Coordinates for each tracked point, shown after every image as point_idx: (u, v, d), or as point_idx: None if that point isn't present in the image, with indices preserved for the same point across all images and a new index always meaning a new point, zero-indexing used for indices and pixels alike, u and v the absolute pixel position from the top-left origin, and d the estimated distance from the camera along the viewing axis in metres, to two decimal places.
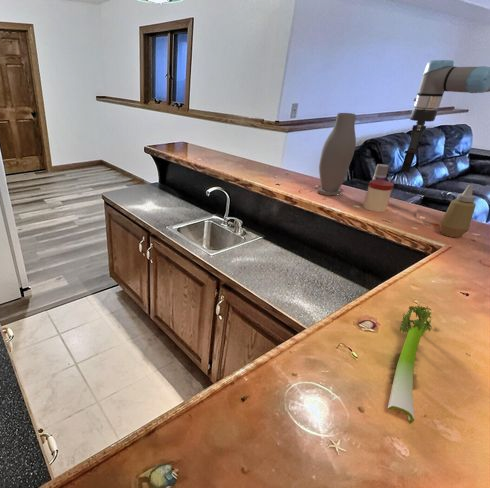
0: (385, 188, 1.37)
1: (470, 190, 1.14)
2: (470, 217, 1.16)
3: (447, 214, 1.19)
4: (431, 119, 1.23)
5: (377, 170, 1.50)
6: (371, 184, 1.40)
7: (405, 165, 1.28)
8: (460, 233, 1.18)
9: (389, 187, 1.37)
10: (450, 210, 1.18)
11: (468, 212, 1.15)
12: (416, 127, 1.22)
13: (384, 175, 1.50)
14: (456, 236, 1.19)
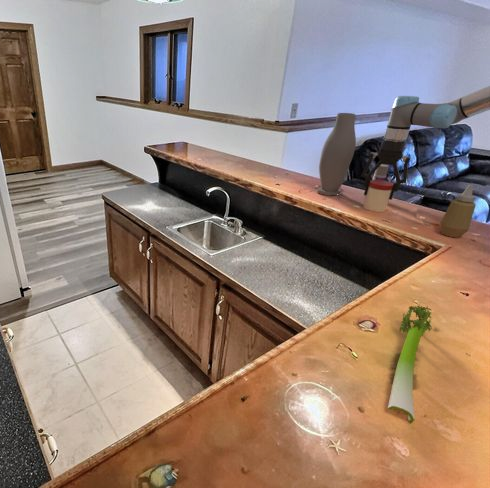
0: (385, 188, 1.37)
1: (470, 190, 1.14)
2: (470, 217, 1.16)
3: (447, 214, 1.19)
4: (384, 148, 1.34)
5: (377, 170, 1.50)
6: (371, 184, 1.40)
7: None
8: (460, 233, 1.18)
9: (389, 187, 1.37)
10: (450, 210, 1.18)
11: (468, 212, 1.15)
12: None
13: (384, 175, 1.50)
14: (456, 236, 1.19)
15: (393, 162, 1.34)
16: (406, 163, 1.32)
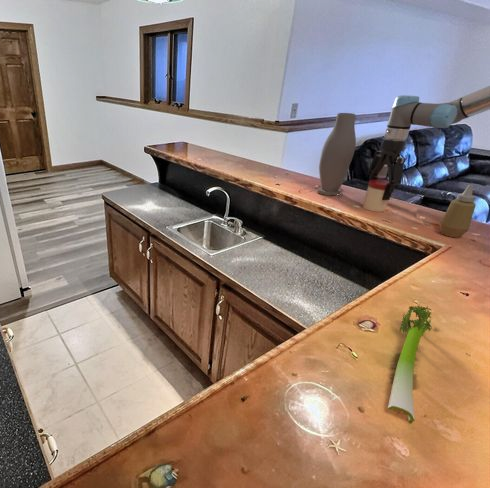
0: None
1: (470, 190, 1.14)
2: (470, 217, 1.16)
3: (447, 214, 1.19)
4: (403, 148, 1.33)
5: None
6: None
7: (387, 194, 1.38)
8: (460, 233, 1.18)
9: None
10: (450, 210, 1.18)
11: (468, 212, 1.15)
12: (400, 161, 1.30)
13: (384, 175, 1.50)
14: (456, 236, 1.19)
15: None
16: None
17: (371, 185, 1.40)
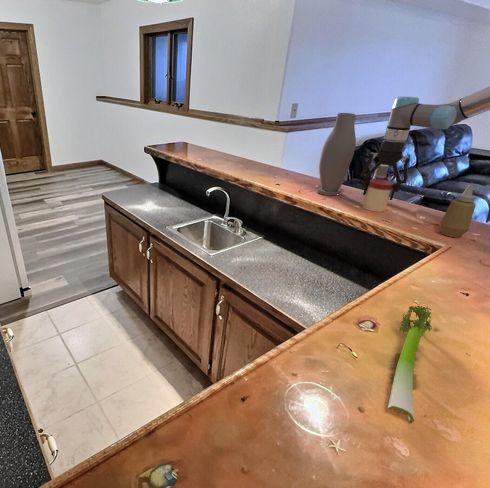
0: None
1: (470, 190, 1.14)
2: (470, 217, 1.16)
3: (447, 214, 1.19)
4: None
5: (377, 170, 1.50)
6: None
7: (393, 194, 1.39)
8: (460, 233, 1.18)
9: None
10: (450, 210, 1.18)
11: (468, 212, 1.15)
12: None
13: (384, 175, 1.50)
14: (456, 236, 1.19)
15: None
16: None
17: (379, 187, 1.38)
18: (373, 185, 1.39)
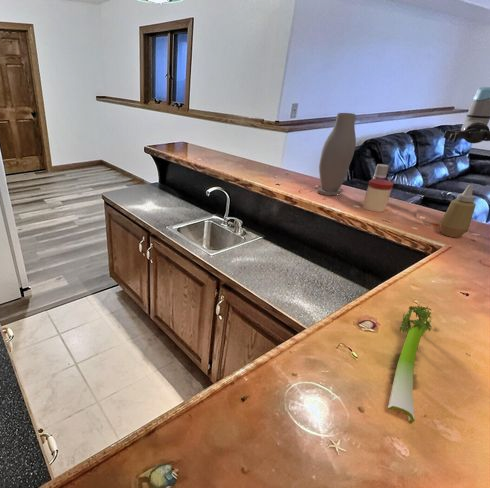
0: None
1: (470, 190, 1.14)
2: (470, 217, 1.16)
3: (447, 214, 1.19)
4: (471, 125, 1.33)
5: (377, 170, 1.50)
6: None
7: (454, 138, 1.26)
8: (460, 233, 1.18)
9: None
10: (450, 210, 1.18)
11: (468, 212, 1.15)
12: None
13: (384, 175, 1.50)
14: (456, 236, 1.19)
15: (487, 130, 1.28)
16: None
17: (379, 187, 1.38)
18: (373, 185, 1.39)
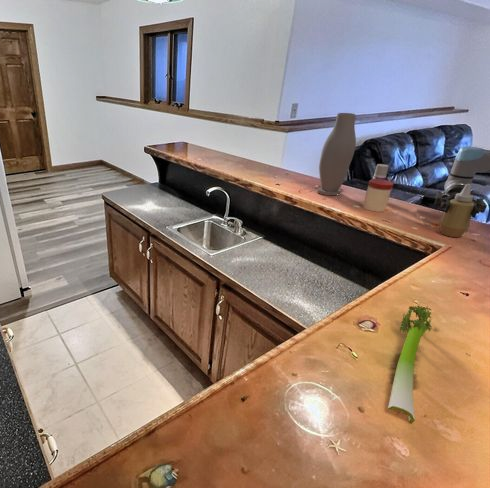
0: None
1: (468, 189, 1.14)
2: (469, 216, 1.16)
3: (446, 214, 1.20)
4: (452, 187, 1.29)
5: (377, 170, 1.50)
6: None
7: (445, 207, 1.19)
8: (460, 233, 1.18)
9: None
10: (449, 210, 1.18)
11: (467, 211, 1.15)
12: (435, 197, 1.30)
13: (384, 175, 1.50)
14: (456, 236, 1.19)
15: None
16: (481, 199, 1.22)
17: (379, 187, 1.38)
18: (373, 185, 1.39)
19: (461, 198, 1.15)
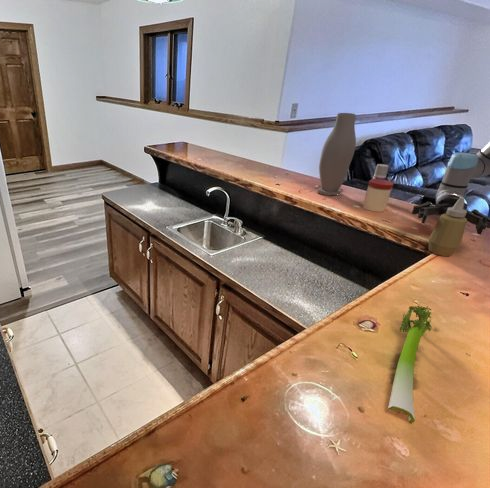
0: None
1: (461, 203, 1.02)
2: (461, 234, 1.04)
3: (436, 230, 1.07)
4: (443, 198, 1.17)
5: (377, 170, 1.50)
6: None
7: (422, 218, 1.09)
8: (450, 251, 1.06)
9: None
10: (439, 226, 1.06)
11: (458, 228, 1.03)
12: None
13: (384, 175, 1.50)
14: (446, 255, 1.07)
15: None
16: (477, 211, 1.10)
17: (379, 187, 1.38)
18: (373, 185, 1.39)
19: (453, 213, 1.03)
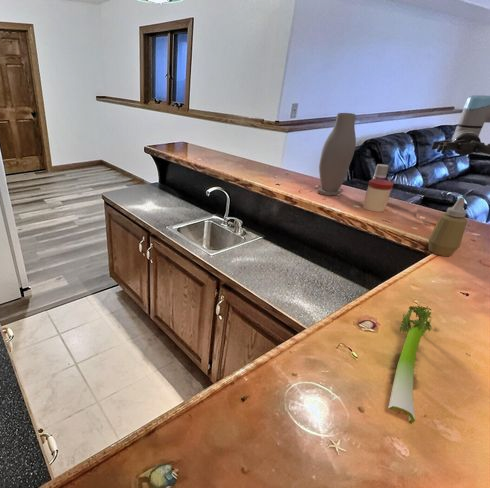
0: None
1: (461, 203, 1.02)
2: (461, 234, 1.04)
3: (436, 230, 1.07)
4: (461, 135, 1.25)
5: (377, 170, 1.50)
6: None
7: (442, 149, 1.17)
8: (450, 251, 1.06)
9: None
10: (439, 226, 1.06)
11: (458, 228, 1.03)
12: None
13: (384, 175, 1.50)
14: (446, 255, 1.07)
15: (477, 142, 1.20)
16: None
17: (379, 187, 1.38)
18: (373, 185, 1.39)
19: (453, 213, 1.03)
